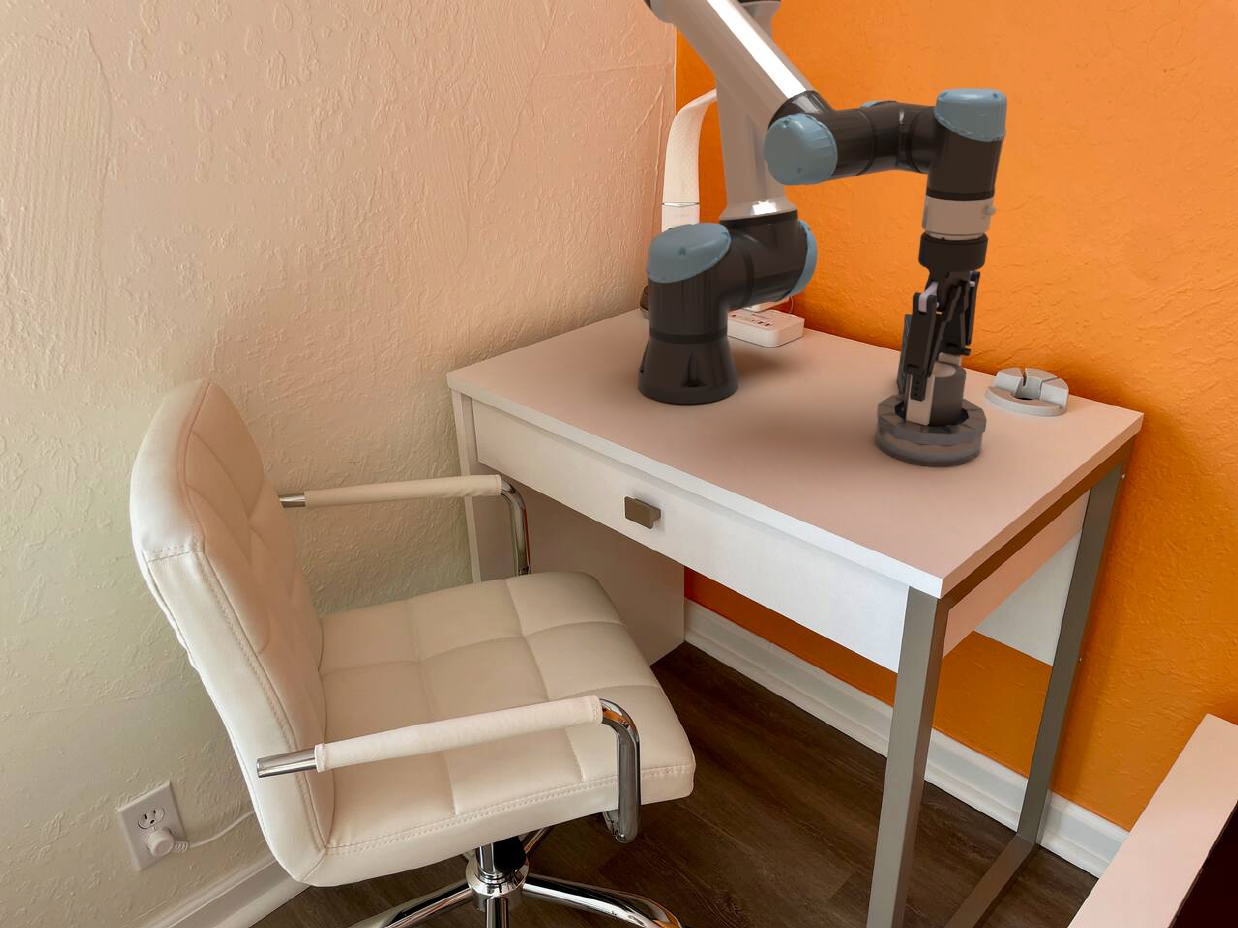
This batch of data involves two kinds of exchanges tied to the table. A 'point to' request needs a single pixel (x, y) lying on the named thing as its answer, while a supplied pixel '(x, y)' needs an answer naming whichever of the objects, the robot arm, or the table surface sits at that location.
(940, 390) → the cap
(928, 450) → the faceted ashtray
